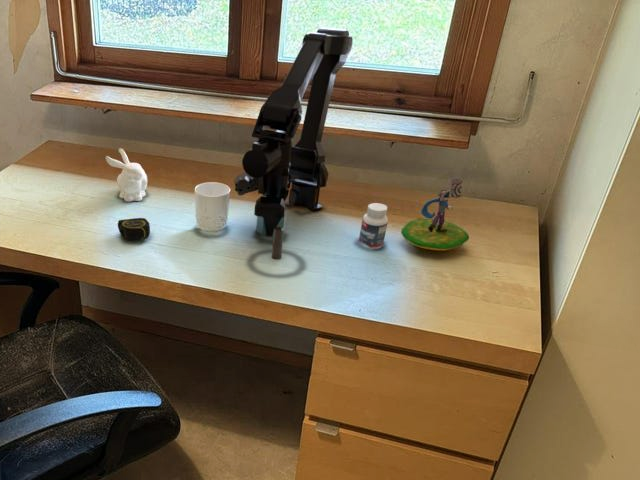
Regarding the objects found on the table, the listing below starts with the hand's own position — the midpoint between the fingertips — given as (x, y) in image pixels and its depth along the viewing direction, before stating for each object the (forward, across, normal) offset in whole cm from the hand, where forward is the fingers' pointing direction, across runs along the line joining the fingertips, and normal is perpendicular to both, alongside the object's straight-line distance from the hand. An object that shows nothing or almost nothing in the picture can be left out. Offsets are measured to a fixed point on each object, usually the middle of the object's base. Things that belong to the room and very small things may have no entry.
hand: (270, 229), depth 154 cm
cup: (+2, 0, 0) cm, 2 cm away
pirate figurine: (+2, -2, +35) cm, 35 cm away
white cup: (+2, 0, -14) cm, 14 cm away
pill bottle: (+2, 0, +22) cm, 22 cm away
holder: (+2, +12, +2) cm, 13 cm away
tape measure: (+2, +6, -30) cm, 31 cm away
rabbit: (+2, -15, -36) cm, 39 cm away
